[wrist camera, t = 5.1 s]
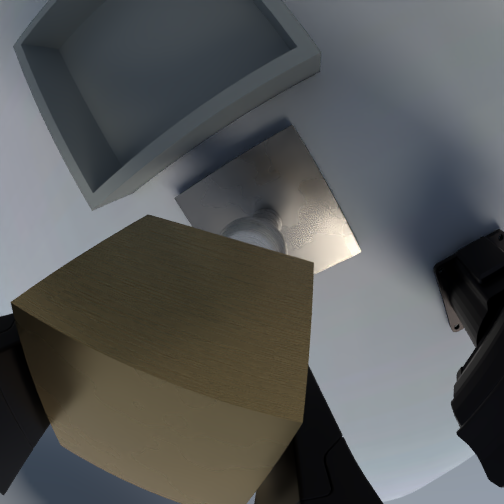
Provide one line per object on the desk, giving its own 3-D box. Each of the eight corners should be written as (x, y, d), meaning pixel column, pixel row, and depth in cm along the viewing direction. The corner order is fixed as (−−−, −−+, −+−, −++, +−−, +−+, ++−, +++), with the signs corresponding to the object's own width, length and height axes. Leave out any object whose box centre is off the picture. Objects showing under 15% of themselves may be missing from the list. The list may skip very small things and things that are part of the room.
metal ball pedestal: (359, 246, 20) (379, 309, 13) (247, 298, 24) (217, 370, 16) (293, 125, 18) (279, 121, 11) (180, 195, 22) (116, 230, 14)
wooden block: (313, 262, 9) (302, 422, 4) (268, 384, 11) (233, 518, 6) (148, 214, 9) (10, 302, 4) (140, 340, 12) (61, 445, 6)
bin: (319, 71, 17) (321, 52, 12) (132, 193, 22) (92, 210, 18) (199, -70, 13) (174, -102, 9) (54, 51, 19) (13, 46, 14)
